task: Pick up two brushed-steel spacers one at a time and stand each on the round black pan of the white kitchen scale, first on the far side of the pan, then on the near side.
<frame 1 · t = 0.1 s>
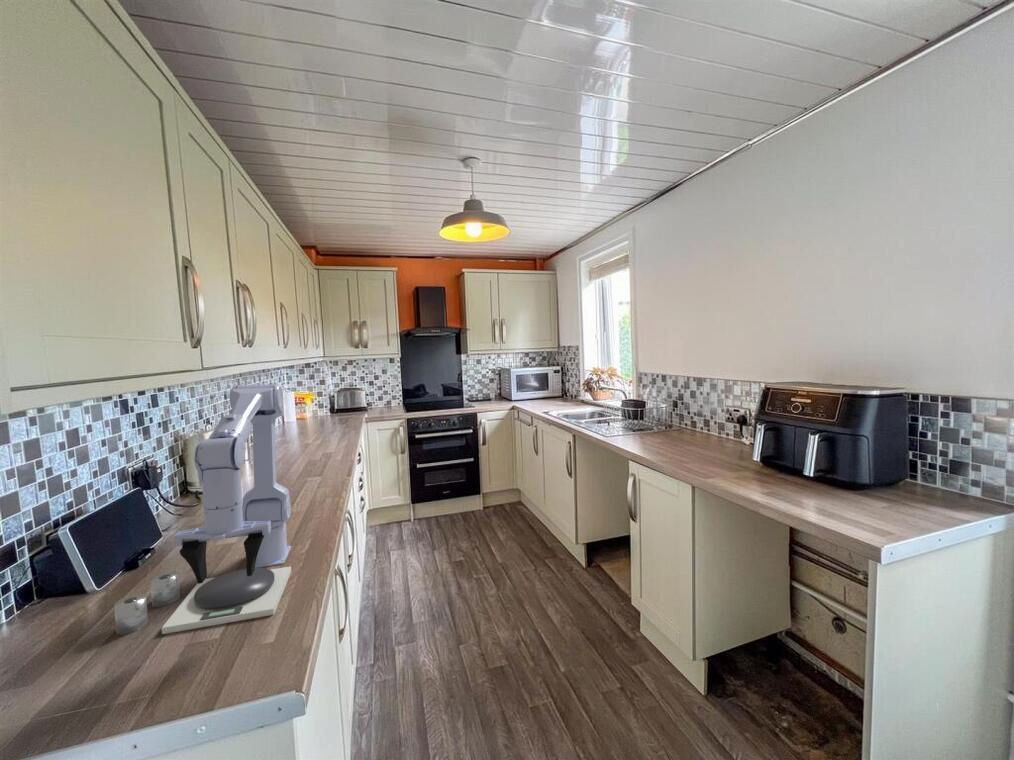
hand: (226, 576, 75), 10 cm above the counter, tool pointing down, fingers open, 7 cm apart
scale pan: (236, 586, 86), point 2 cm above the counter, slide at -0.3 cm
scale base: (234, 598, 85), on the counter
spacer b: (132, 626, 77), on the counter
spacer a: (166, 600, 85), on the counter
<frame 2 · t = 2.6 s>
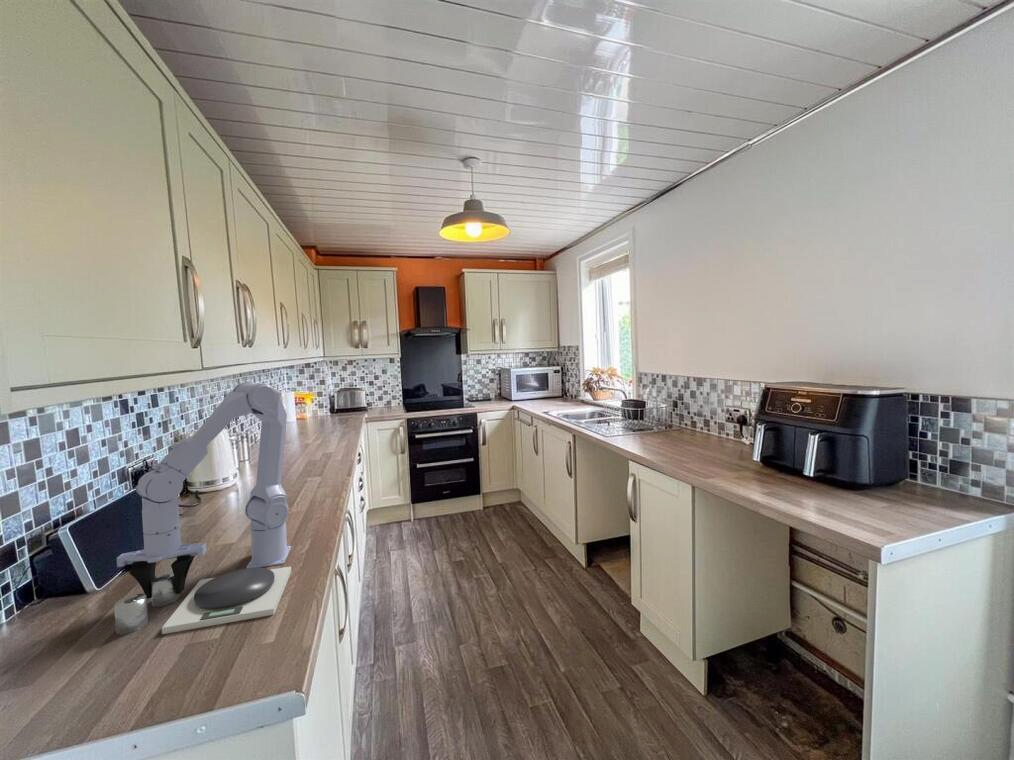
hand: (165, 593, 85), 1 cm above the counter, tool pointing down, fingers closed on spacer a, 4 cm apart
spacer a: (166, 600, 85), on the counter, touching gripper
everything else where it was.
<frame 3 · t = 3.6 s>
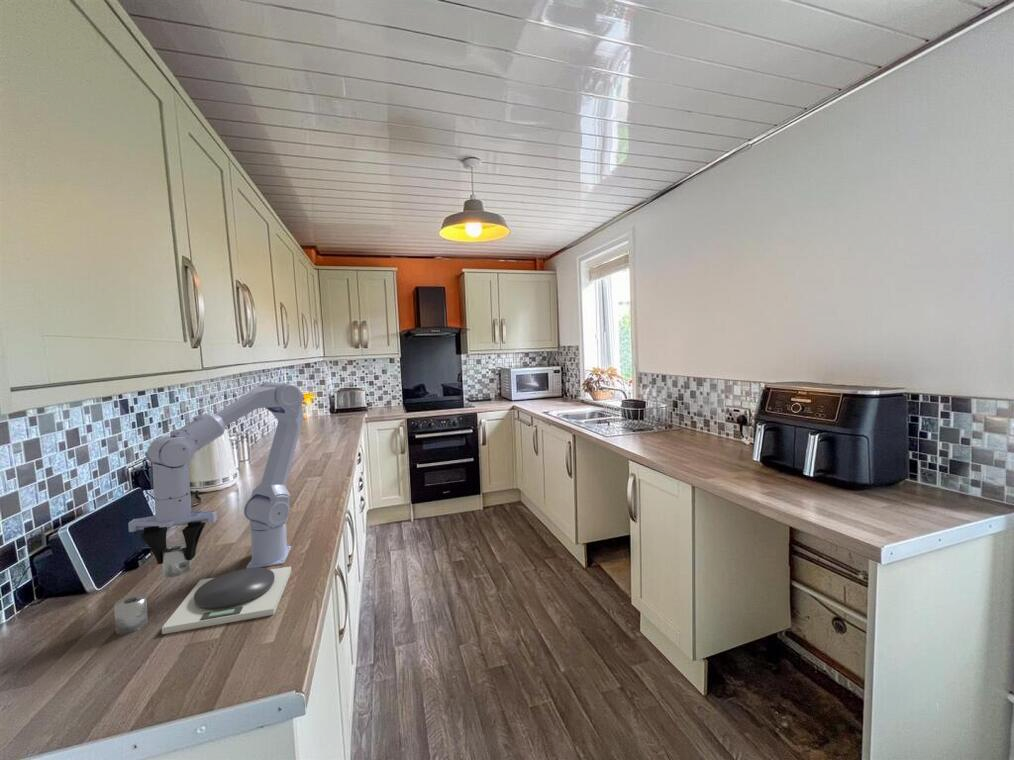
hand: (176, 559, 85), 8 cm above the counter, tool pointing down, fingers closed on spacer a, 4 cm apart
spacer a: (177, 571, 85), point 6 cm above the counter, touching gripper
everything else where it was.
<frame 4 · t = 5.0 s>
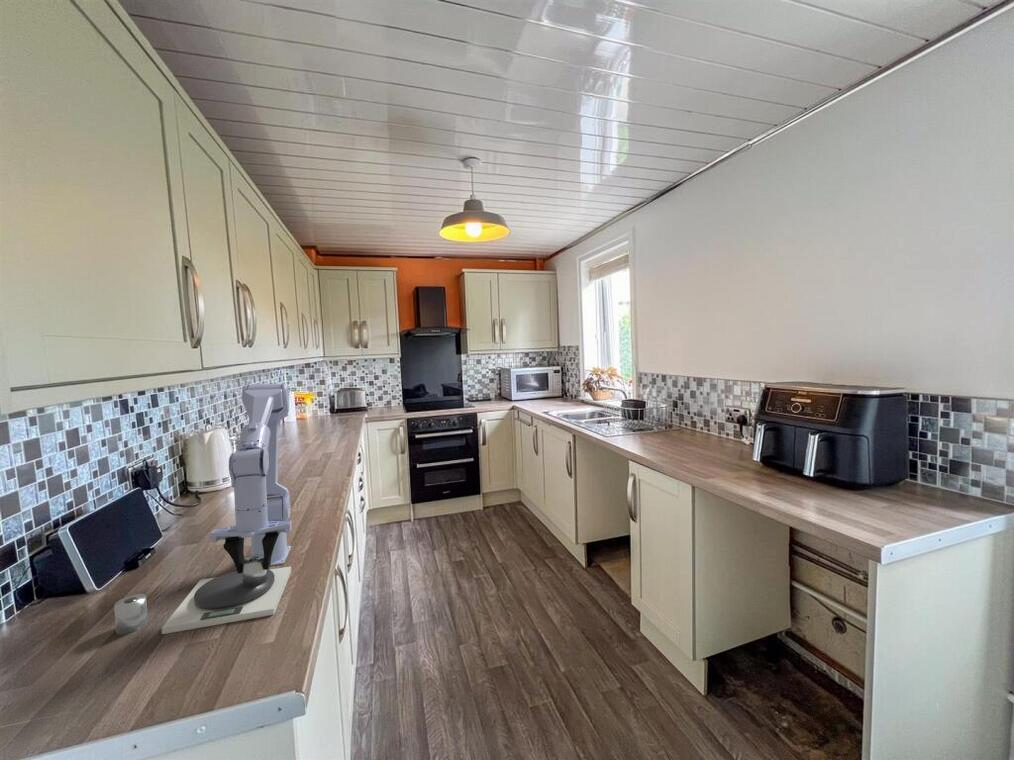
hand: (254, 569, 87), 5 cm above the counter, tool pointing down, fingers closed on spacer a, 4 cm apart
scale pan: (236, 586, 86), point 2 cm above the counter, slide at -0.4 cm, touching spacer a
spacer a: (255, 582, 87), point 2 cm above the counter, touching gripper, scale pan
everything else where it was.
when the fingers open (5 cm above the counter, at t = 5.4 s): spacer a stays where it is, resting on scale pan.
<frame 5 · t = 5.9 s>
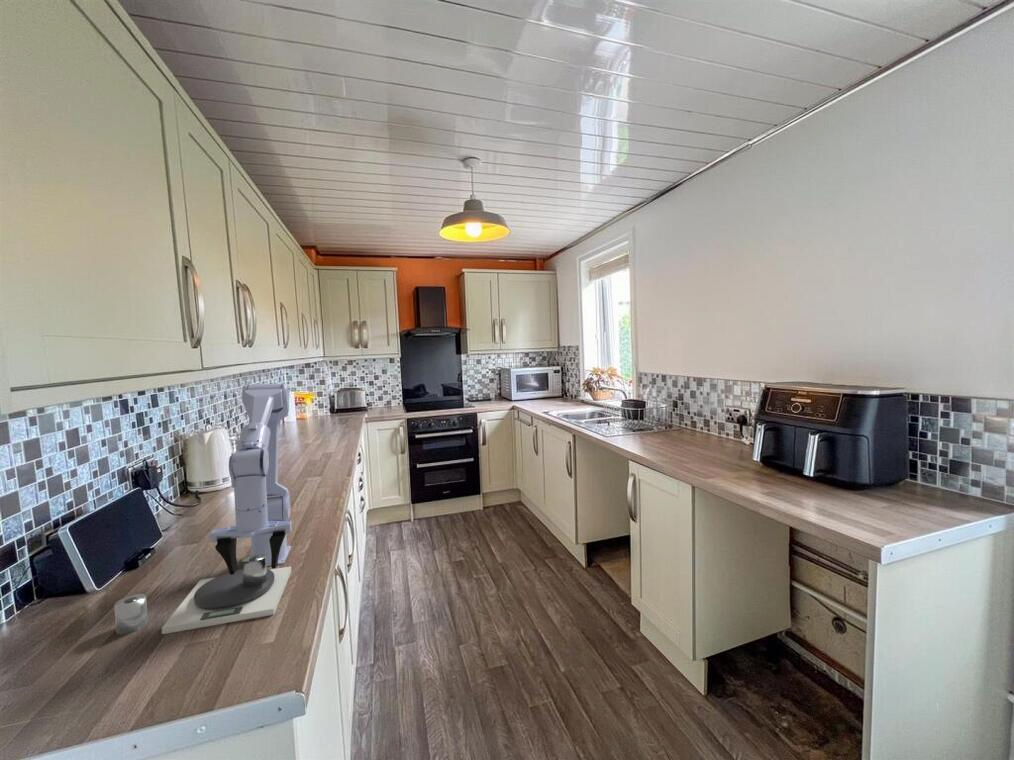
hand: (254, 569, 87), 5 cm above the counter, tool pointing down, fingers open, 7 cm apart
spacer a: (255, 581, 87), point 2 cm above the counter, touching scale pan
everything else where it was.
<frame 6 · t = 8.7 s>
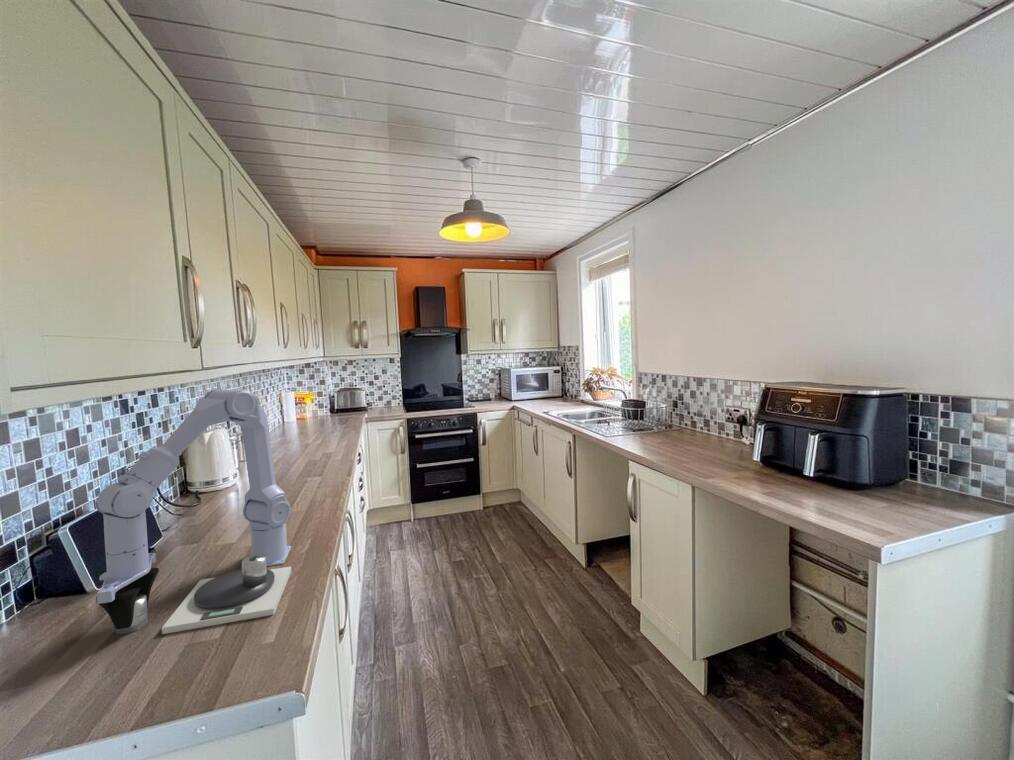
hand: (131, 618, 77), 1 cm above the counter, tool pointing down, fingers closed on spacer b, 4 cm apart
spacer b: (132, 626, 77), on the counter, touching gripper
everything else where it was.
when the fingers open (5 cm above the counter, at t = 11.5 s): spacer b stays where it is, resting on scale pan.
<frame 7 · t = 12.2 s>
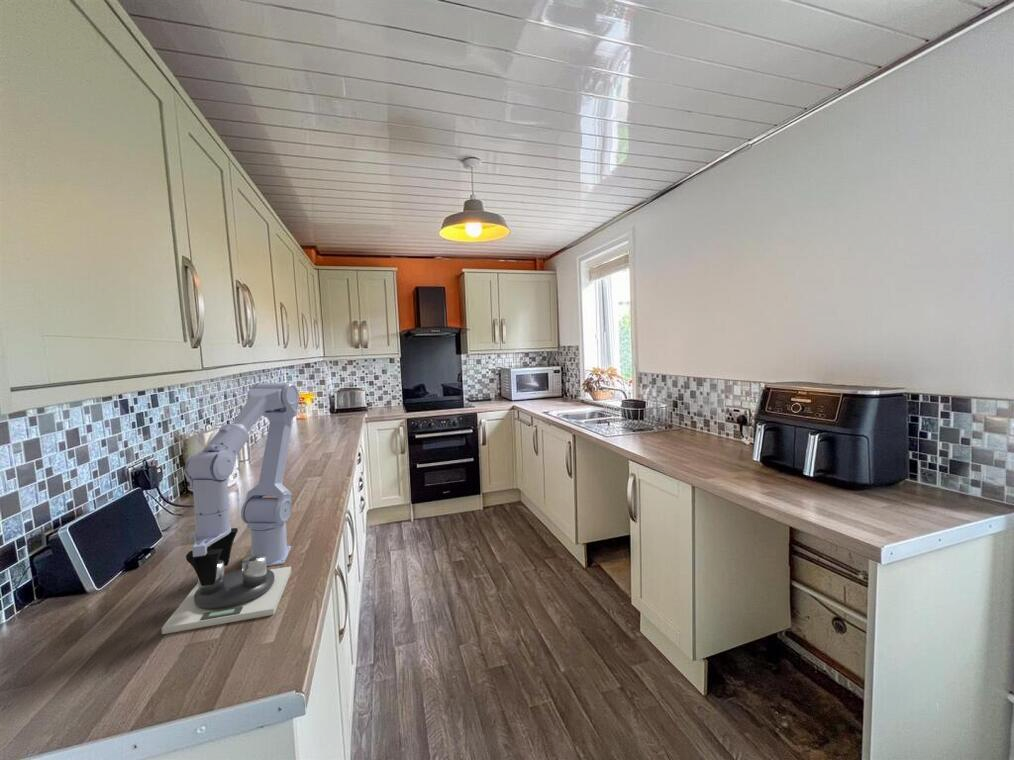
hand: (215, 574, 85), 5 cm above the counter, tool pointing down, fingers open, 7 cm apart
scale pan: (236, 586, 86), point 2 cm above the counter, slide at -0.4 cm, touching spacer a, spacer b
spacer b: (212, 588, 85), point 2 cm above the counter, touching scale pan
everything else where it was.
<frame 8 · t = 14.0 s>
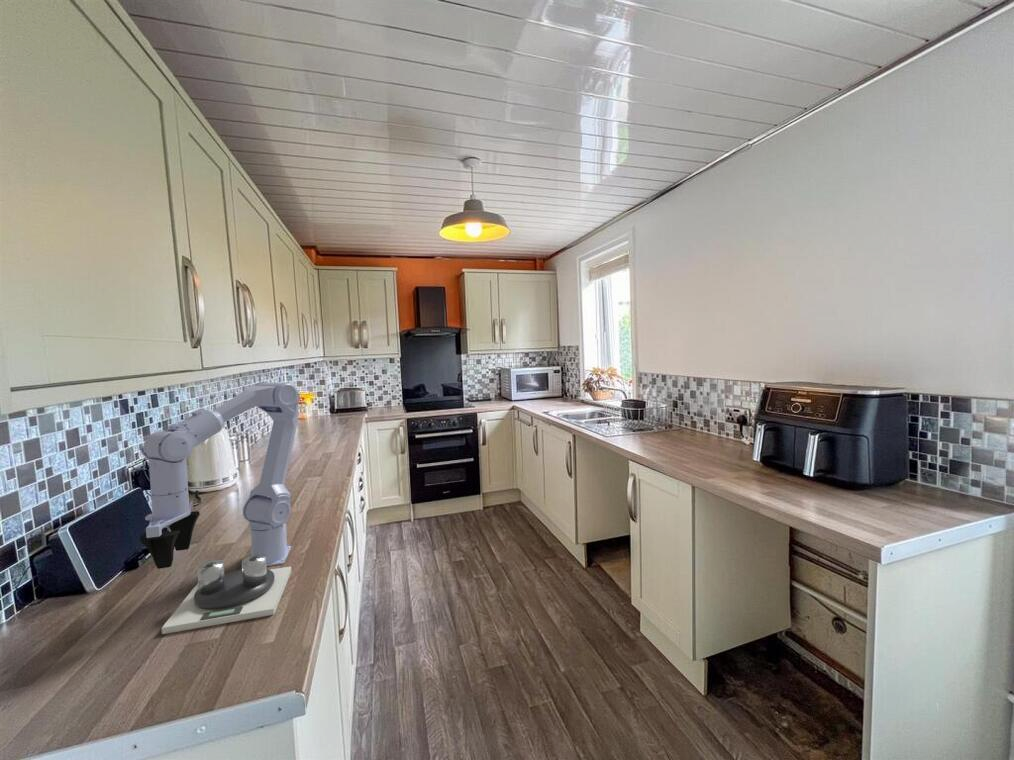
hand: (173, 558, 82), 10 cm above the counter, tool pointing down, fingers open, 7 cm apart
nothing on the counter moved.
at the end: spacer a inside the target area on the scale pan (3.5 cm from its centre), point 2.8 cm above the scale pan's base; spacer b inside the target area on the scale pan (4.3 cm from its centre), point 2.8 cm above the scale pan's base; spacer b tilted 0° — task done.
